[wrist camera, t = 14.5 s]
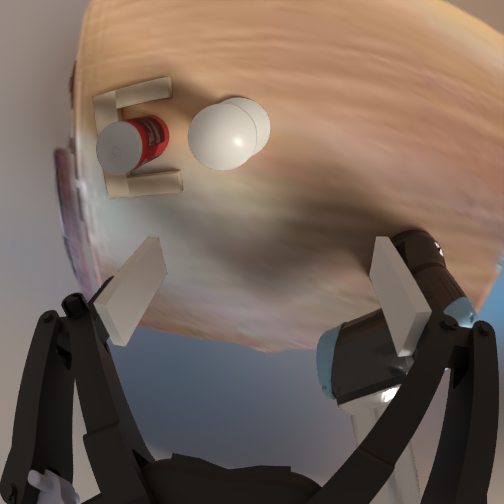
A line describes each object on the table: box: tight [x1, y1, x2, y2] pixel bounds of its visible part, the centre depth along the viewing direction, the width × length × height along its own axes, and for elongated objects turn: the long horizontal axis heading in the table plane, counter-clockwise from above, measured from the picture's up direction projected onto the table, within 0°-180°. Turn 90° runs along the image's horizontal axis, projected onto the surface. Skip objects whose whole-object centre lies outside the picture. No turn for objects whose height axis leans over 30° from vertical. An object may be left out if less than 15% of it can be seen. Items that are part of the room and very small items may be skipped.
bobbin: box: [188, 98, 271, 170], centre depth 35 cm, size 10×10×13 cm
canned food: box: [96, 116, 169, 175], centre depth 38 cm, size 8×8×11 cm
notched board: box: [93, 77, 183, 199], centre depth 42 cm, size 20×15×2 cm
